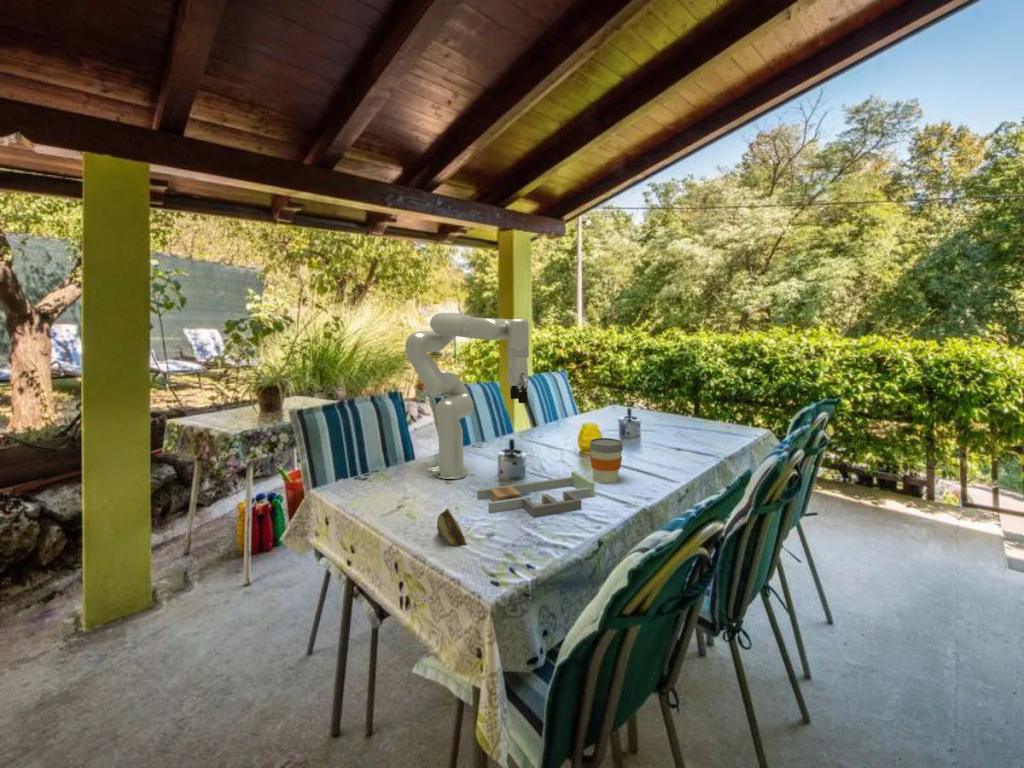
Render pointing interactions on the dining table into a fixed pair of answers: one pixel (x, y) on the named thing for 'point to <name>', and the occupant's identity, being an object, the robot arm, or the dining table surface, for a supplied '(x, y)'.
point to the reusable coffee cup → (606, 459)
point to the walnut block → (504, 493)
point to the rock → (450, 528)
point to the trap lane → (544, 496)
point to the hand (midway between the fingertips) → (518, 400)
